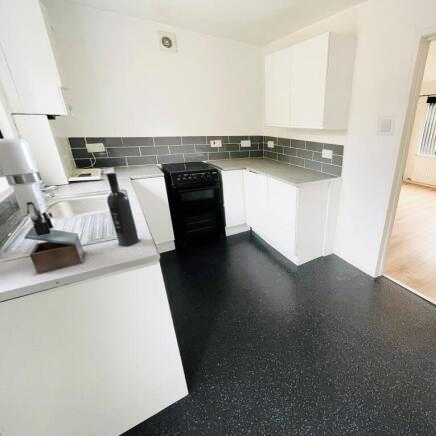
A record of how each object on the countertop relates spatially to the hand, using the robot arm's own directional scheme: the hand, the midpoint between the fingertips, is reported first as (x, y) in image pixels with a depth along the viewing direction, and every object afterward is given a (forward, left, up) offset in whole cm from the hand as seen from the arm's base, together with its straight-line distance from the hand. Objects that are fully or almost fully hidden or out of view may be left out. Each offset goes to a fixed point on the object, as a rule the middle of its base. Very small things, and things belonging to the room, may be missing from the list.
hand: (45, 231), depth 84 cm
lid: (+1, +1, -2) cm, 3 cm away
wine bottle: (+18, +14, -13) cm, 26 cm away
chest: (+1, +1, -13) cm, 13 cm away
